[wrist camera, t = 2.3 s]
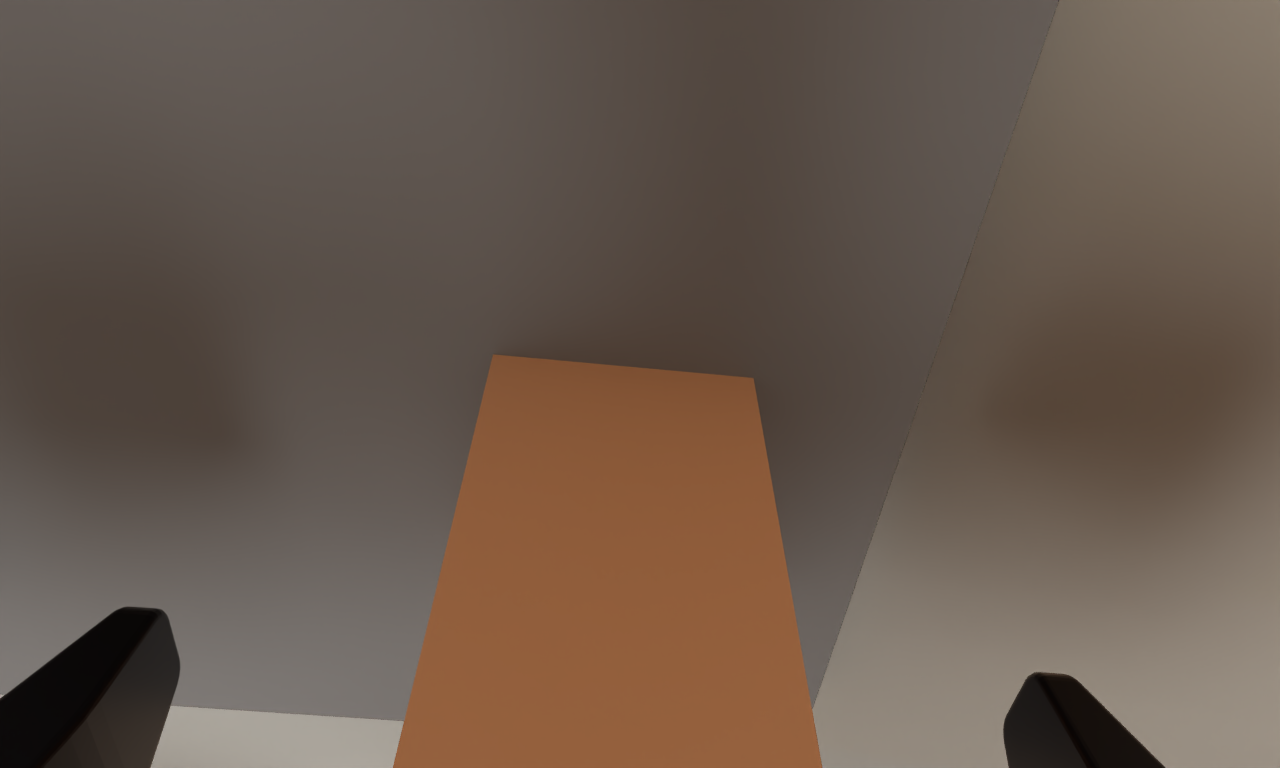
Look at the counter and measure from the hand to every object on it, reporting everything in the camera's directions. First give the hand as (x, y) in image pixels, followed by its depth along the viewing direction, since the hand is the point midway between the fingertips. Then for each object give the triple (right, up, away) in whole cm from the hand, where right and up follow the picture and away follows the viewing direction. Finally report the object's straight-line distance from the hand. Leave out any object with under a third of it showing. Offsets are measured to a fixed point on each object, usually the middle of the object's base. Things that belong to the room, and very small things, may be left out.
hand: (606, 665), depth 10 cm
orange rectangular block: (0, +2, +2) cm, 3 cm away
